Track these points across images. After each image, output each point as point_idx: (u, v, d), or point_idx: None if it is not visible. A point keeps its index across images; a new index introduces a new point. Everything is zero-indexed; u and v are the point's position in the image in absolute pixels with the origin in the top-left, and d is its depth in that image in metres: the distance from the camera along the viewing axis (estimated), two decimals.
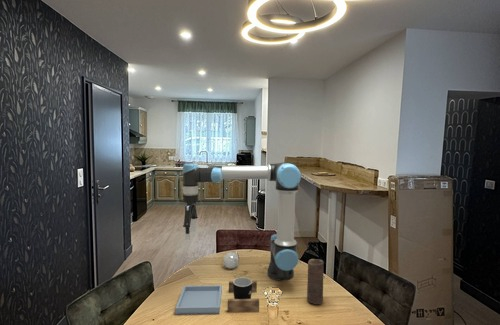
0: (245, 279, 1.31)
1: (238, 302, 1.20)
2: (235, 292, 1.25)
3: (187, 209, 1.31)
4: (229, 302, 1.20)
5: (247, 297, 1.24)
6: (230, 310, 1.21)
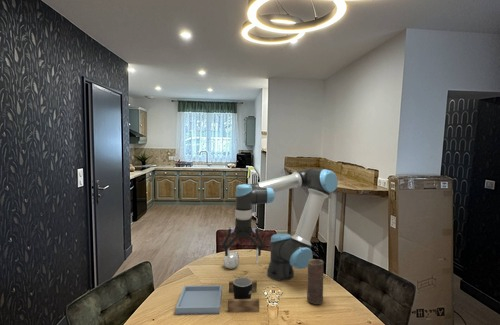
0: (245, 279, 1.31)
1: (238, 302, 1.20)
2: (235, 292, 1.25)
3: (228, 231, 1.27)
4: (229, 302, 1.20)
5: (247, 297, 1.24)
6: (230, 310, 1.21)
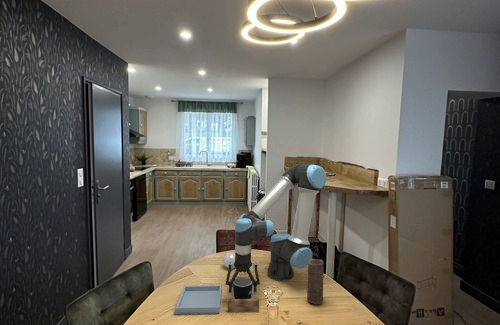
0: (245, 279, 1.31)
1: (238, 302, 1.20)
2: (235, 292, 1.25)
3: None
4: (229, 302, 1.20)
5: (247, 297, 1.24)
6: (230, 310, 1.21)
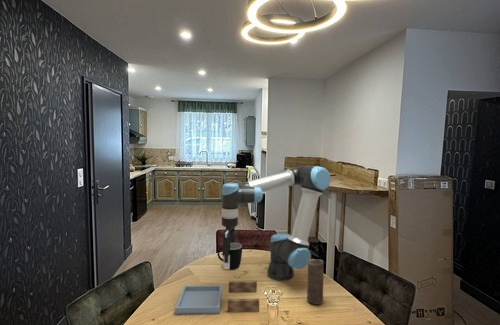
0: None
1: (238, 302, 1.20)
2: (236, 257, 1.23)
3: (225, 236, 1.20)
4: (229, 302, 1.20)
5: None
6: (230, 310, 1.21)
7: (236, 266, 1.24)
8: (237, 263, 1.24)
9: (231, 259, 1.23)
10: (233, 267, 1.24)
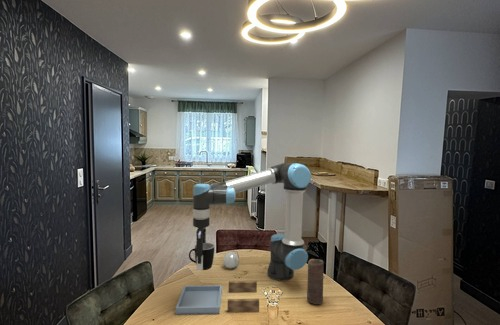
0: None
1: (238, 302, 1.20)
2: (209, 256, 1.24)
3: (199, 237, 1.20)
4: (229, 302, 1.20)
5: None
6: (230, 310, 1.21)
7: (209, 266, 1.25)
8: (210, 263, 1.25)
9: (204, 259, 1.23)
10: (206, 267, 1.24)
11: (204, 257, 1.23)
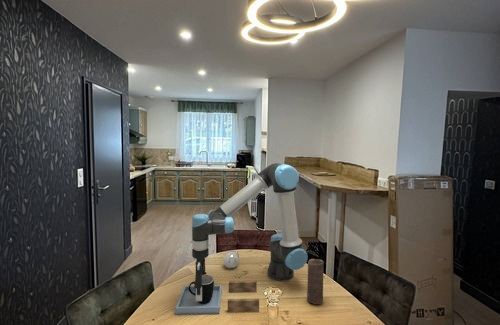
0: None
1: (238, 302, 1.20)
2: (209, 291, 1.24)
3: (198, 269, 1.20)
4: (229, 302, 1.20)
5: None
6: (230, 310, 1.21)
7: (209, 300, 1.26)
8: (210, 297, 1.25)
9: (204, 294, 1.24)
10: (206, 301, 1.25)
11: (204, 292, 1.23)
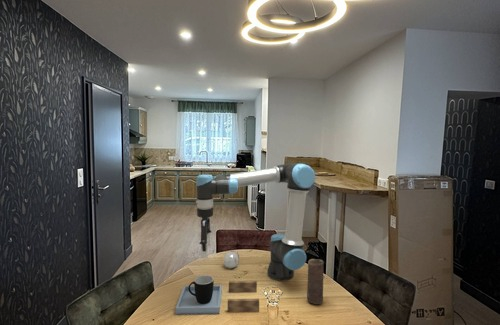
0: (196, 279, 1.29)
1: (238, 302, 1.20)
2: (209, 291, 1.25)
3: (203, 225, 1.22)
4: (229, 302, 1.20)
5: None
6: (230, 310, 1.21)
7: (208, 300, 1.26)
8: (209, 297, 1.26)
9: (204, 294, 1.24)
10: (206, 301, 1.25)
11: (203, 291, 1.24)
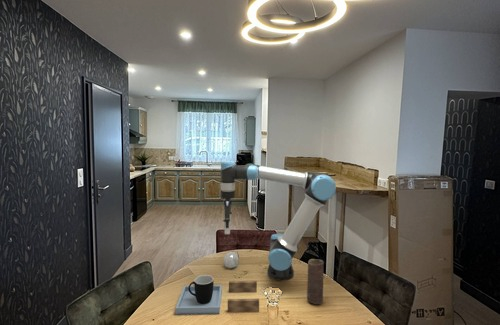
0: (196, 279, 1.29)
1: (238, 302, 1.20)
2: (209, 291, 1.25)
3: (227, 204, 1.38)
4: (229, 302, 1.20)
5: None
6: (230, 310, 1.21)
7: (208, 300, 1.26)
8: (209, 297, 1.26)
9: (204, 294, 1.24)
10: (206, 301, 1.25)
11: (203, 291, 1.24)
